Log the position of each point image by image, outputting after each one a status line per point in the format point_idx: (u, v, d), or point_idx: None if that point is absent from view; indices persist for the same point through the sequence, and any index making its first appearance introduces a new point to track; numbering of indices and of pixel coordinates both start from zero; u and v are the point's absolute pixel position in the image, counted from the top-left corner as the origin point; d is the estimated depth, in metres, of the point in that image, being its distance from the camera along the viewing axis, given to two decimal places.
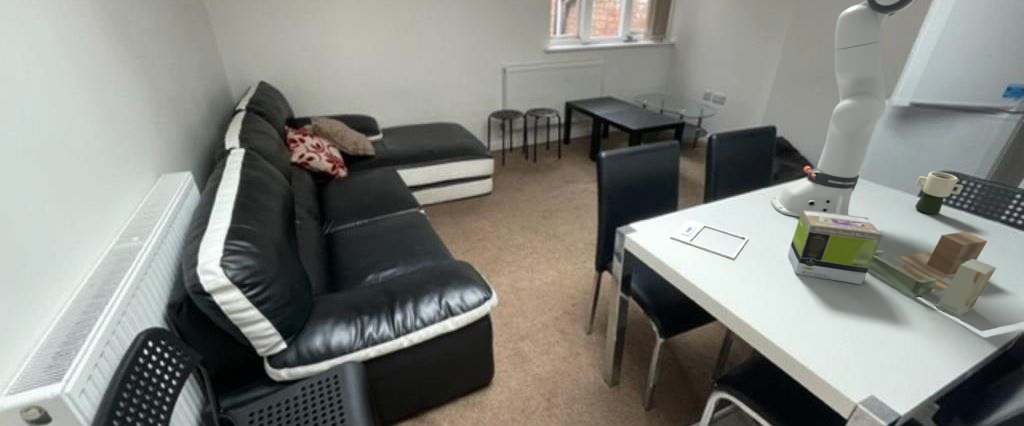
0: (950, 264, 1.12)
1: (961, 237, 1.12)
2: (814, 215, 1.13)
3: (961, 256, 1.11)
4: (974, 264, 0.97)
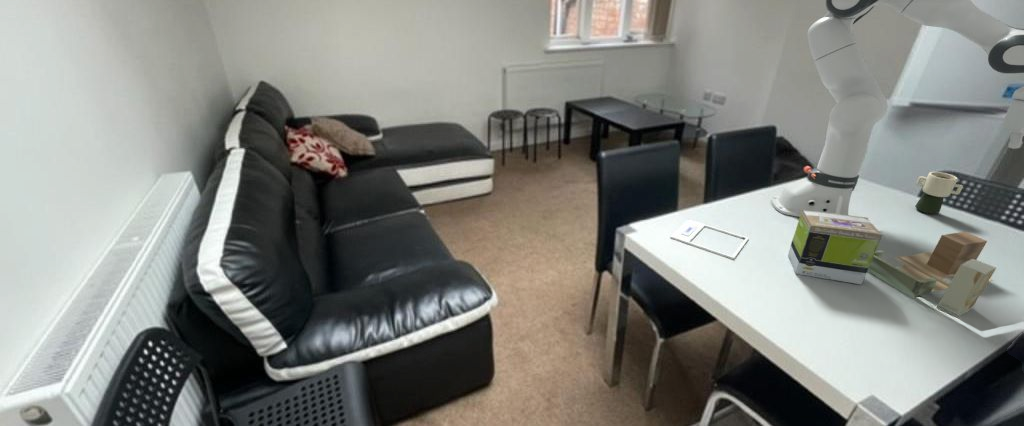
0: (950, 264, 1.12)
1: (961, 237, 1.12)
2: (814, 215, 1.13)
3: (961, 256, 1.11)
4: (974, 264, 0.97)
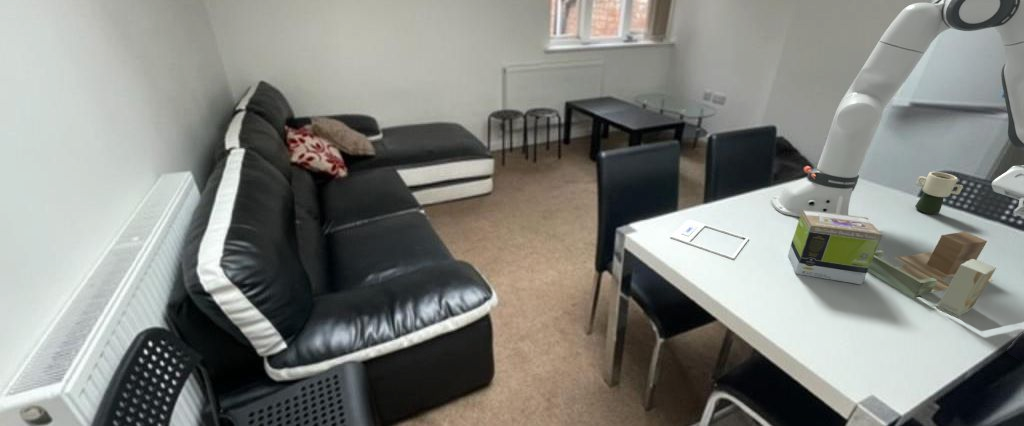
0: (950, 264, 1.12)
1: (961, 237, 1.12)
2: (814, 215, 1.13)
3: (961, 256, 1.11)
4: (974, 264, 0.97)
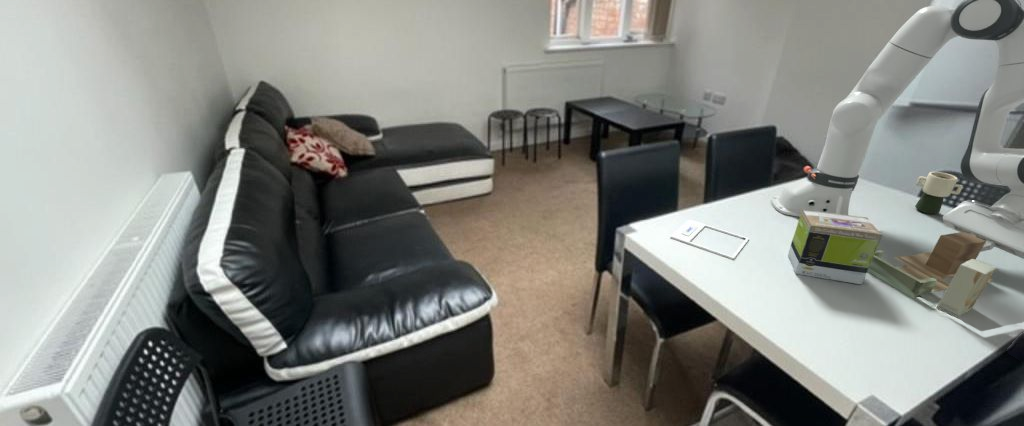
0: (949, 264, 1.12)
1: (960, 237, 1.12)
2: (814, 215, 1.13)
3: (960, 257, 1.11)
4: (974, 264, 0.97)
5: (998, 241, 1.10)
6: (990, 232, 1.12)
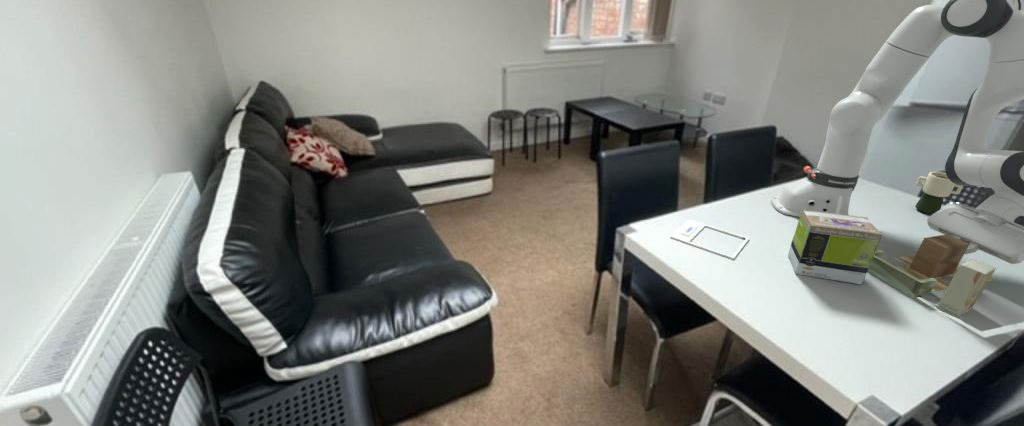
0: (932, 267, 1.11)
1: (943, 240, 1.11)
2: (814, 215, 1.13)
3: (944, 260, 1.09)
4: (974, 264, 0.97)
5: (982, 244, 1.09)
6: (974, 235, 1.11)
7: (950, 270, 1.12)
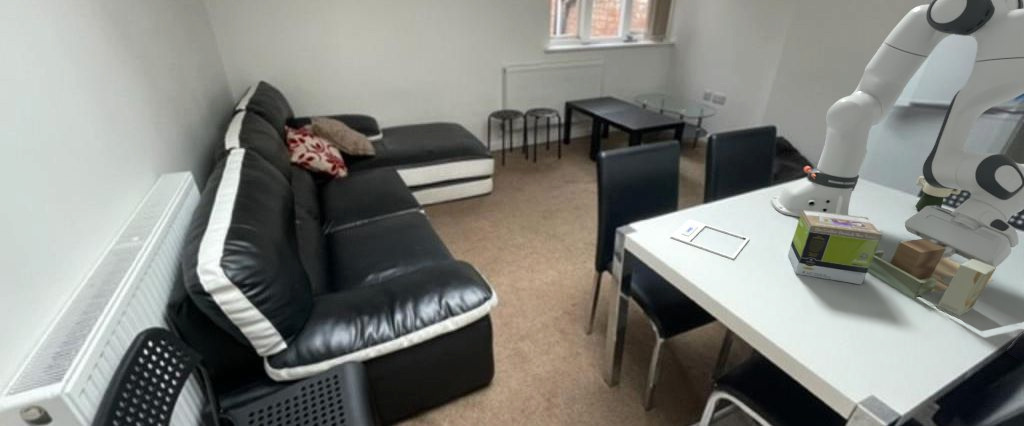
0: (908, 272, 1.09)
1: (919, 244, 1.09)
2: (814, 215, 1.13)
3: (919, 264, 1.07)
4: (974, 264, 0.97)
5: (958, 248, 1.07)
6: (950, 238, 1.09)
7: (927, 275, 1.10)
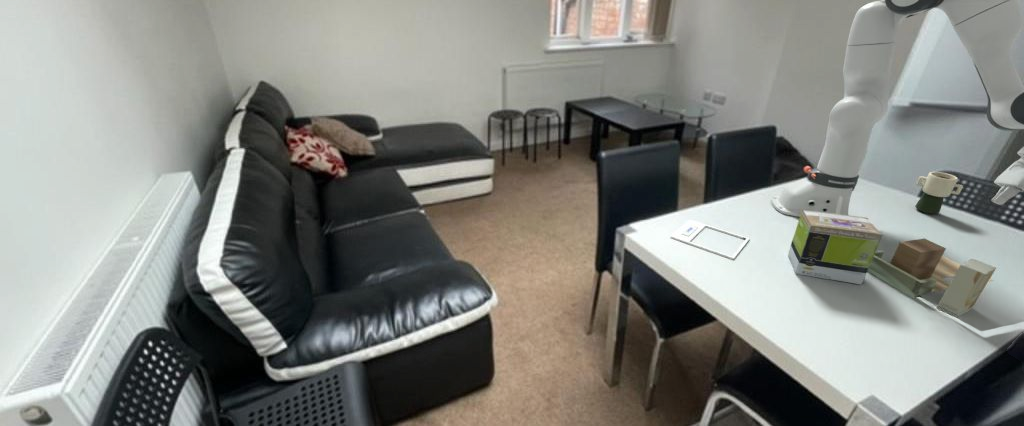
0: (908, 272, 1.09)
1: (919, 244, 1.09)
2: (814, 215, 1.13)
3: (919, 264, 1.07)
4: (974, 264, 0.97)
5: (1009, 183, 1.08)
6: (1010, 178, 1.09)
7: (927, 275, 1.10)
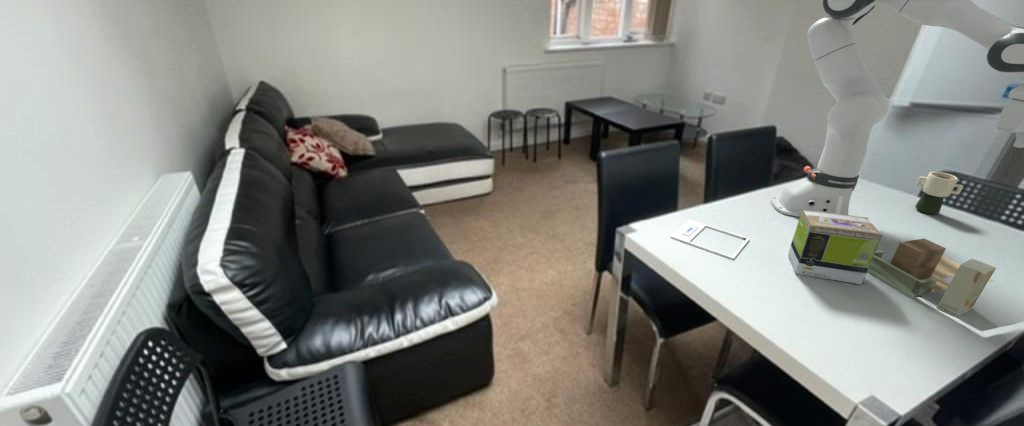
0: (908, 272, 1.09)
1: (919, 244, 1.09)
2: (814, 215, 1.13)
3: (919, 264, 1.07)
4: (974, 264, 0.97)
5: None
6: None
7: (927, 275, 1.10)
